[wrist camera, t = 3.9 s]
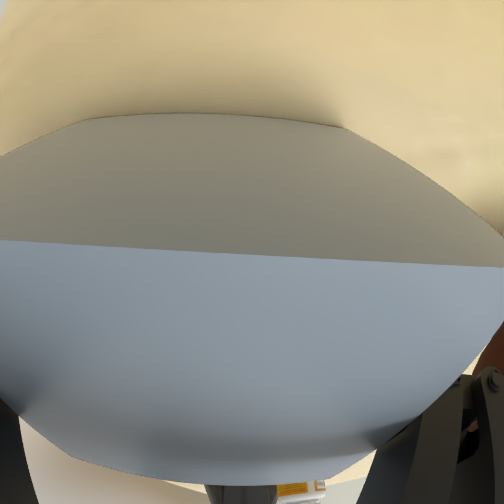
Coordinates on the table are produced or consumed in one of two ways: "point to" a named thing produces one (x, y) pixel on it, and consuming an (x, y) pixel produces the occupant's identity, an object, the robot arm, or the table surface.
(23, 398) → the block
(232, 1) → the table surface
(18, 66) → the table surface
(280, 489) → the supplement bottle
